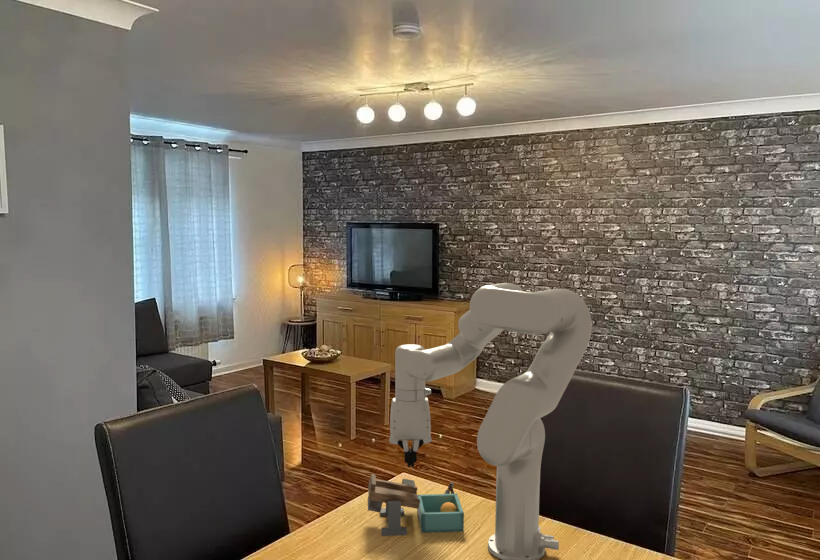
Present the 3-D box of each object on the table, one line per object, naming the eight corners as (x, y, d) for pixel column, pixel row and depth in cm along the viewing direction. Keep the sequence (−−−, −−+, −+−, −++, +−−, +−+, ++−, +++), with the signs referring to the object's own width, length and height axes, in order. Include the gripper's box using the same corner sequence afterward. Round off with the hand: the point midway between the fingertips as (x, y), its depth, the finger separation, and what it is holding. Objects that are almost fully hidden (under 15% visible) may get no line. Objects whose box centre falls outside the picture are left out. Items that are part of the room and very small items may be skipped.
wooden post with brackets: (458, 493, 166) (455, 480, 164) (446, 516, 160) (443, 503, 158) (451, 491, 167) (449, 479, 165) (439, 514, 161) (436, 501, 159)
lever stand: (403, 510, 158) (403, 481, 157) (407, 535, 145) (407, 503, 145) (379, 511, 157) (379, 482, 157) (381, 535, 145) (381, 504, 144)
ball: (434, 509, 153) (445, 521, 154) (441, 512, 149) (451, 524, 150) (445, 497, 154) (455, 508, 155) (452, 500, 151) (462, 512, 151)
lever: (410, 495, 161) (416, 471, 161) (415, 520, 148) (421, 494, 147) (365, 486, 160) (370, 462, 160) (365, 511, 146) (371, 485, 146)
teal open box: (456, 510, 158) (456, 493, 157) (463, 531, 147) (463, 513, 147) (417, 512, 157) (417, 494, 157) (421, 532, 147) (421, 514, 146)
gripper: (438, 389, 161) (437, 458, 162) (380, 391, 159) (380, 460, 161) (441, 397, 153) (441, 470, 155) (381, 399, 152) (381, 472, 154)
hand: (410, 465), depth 158 cm, fingers closed
